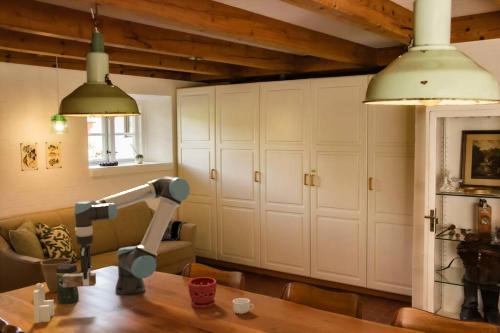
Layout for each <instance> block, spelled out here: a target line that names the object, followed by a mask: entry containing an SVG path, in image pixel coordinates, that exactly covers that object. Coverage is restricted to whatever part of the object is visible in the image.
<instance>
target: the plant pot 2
mask: <svg viewBox="0 0 500 333" xmlns="http://www.w3.org/2000/svg"><path fill="white" fill-rule="evenodd" d="M188 293H189V297H190V304H191V306H192V307H194V308H197V309H206V308H207V307H208V308H210V307H212V306H213V305H215V303H216V300H215V297H216V293H217V280H216V279H215V278H213V277H209V276H199V277H193V278H191V279H190V280H189V281H188Z"/></svg>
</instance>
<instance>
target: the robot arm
mask: <svg viewBox="0 0 500 333" xmlns="http://www.w3.org/2000/svg"><path fill="white" fill-rule="evenodd" d="M190 192H191V187H190V185H189V182H188V180H186V179H185V178H182V177H180V176H170V175H169V176H168V175H166V176H162V177H159V178H157V179H153V180H150V181H147V182H146V184H144V185H141V186H137V187H134V188H132V189H128V190H126V191H122V192H119V193H116V194H112V195H110V196H107V197H103V198H100V199H97V200H89V201H86V200H85V201H78V202H75V203H74V212H73V213H74V221H75V228H74V231H75V235H76V239H75V240H76V241H75V243H76V244H77V245H79V246H80V245H81V247H79V257H80V273H81V274H82V275H83V286H82V287H90V286H89V273H92V272H91V269H93V266H92V255H91V253H92V250H91V244H93V242H94V234H93V233H94V232H93V230H94V229H93V228H94V227H93V222H97V221H104V220H111V219H115V218H117V216H118V210H120V209H122V208H125V207H128V206H132V205H133V204H137V203H141V202H143V201H146V200H149V199H152V200H155V199H159V203H158V205H157V208H156V210H155V211H154V214H153V217H152V219H151V220H150V223H149V226H148V227H147V229H146V231H145V234H144V237H143V238H142V240H141V242H140V244H138V245H135V246H133V245H131V246H126V247H120V248H119V249H118V250H117V255H116V256H117V271H118V277H117V281H116V285H115V294H117V295H120V296H121V295H122V296H129V295H130V296H131V295H138V294H140V293H143V292H145V290H146V284H145V282H144V279H147V278H150V277H151V276H152V275H153V274H154V273H155V271H156V269H157V261H156V259H157V257H158V252H157V249H158V248H159V246H160V244H161V241H162V239H163V236H164V234H165V233H166V230H167V228H168V226H169V224H170V221H171V220H172V216H173V215H174V212H175V210H176V208H179V207H181V205H182V202H183V201H185V200H186V199H187V198H188V197H189V195H190Z"/></svg>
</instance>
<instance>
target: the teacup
mask: <svg viewBox="0 0 500 333" xmlns="http://www.w3.org/2000/svg"><path fill="white" fill-rule="evenodd" d="M250 302H251V300H250V299H249V298H245V297H240V298H239V297H238V298H237V297H236V298H234V299H233V300H232V307H233V308H232V309H233V312H234V313H236V314H238V313H239V314H238V315H244V313H245V314H247V313H248V312H249V311H251V310H253V309H254V308H255V305H254V304H253V303H250ZM250 306H252V308H250Z"/></svg>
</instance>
